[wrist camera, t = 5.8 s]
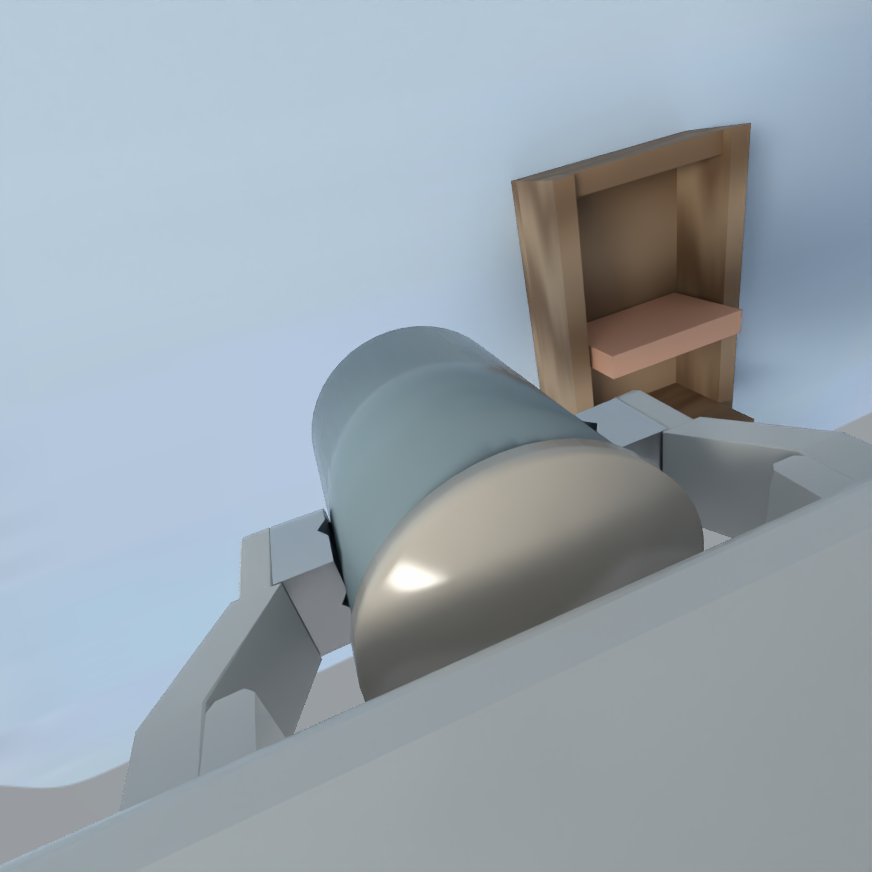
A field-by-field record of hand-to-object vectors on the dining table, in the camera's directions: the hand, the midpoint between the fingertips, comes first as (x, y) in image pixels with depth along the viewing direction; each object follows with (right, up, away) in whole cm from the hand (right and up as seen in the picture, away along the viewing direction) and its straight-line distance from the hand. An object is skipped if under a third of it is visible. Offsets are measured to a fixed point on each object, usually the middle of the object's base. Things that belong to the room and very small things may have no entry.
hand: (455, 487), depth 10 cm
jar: (-1, +1, +3) cm, 3 cm away
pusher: (+10, +8, +19) cm, 23 cm away
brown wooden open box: (+10, +9, +19) cm, 23 cm away
